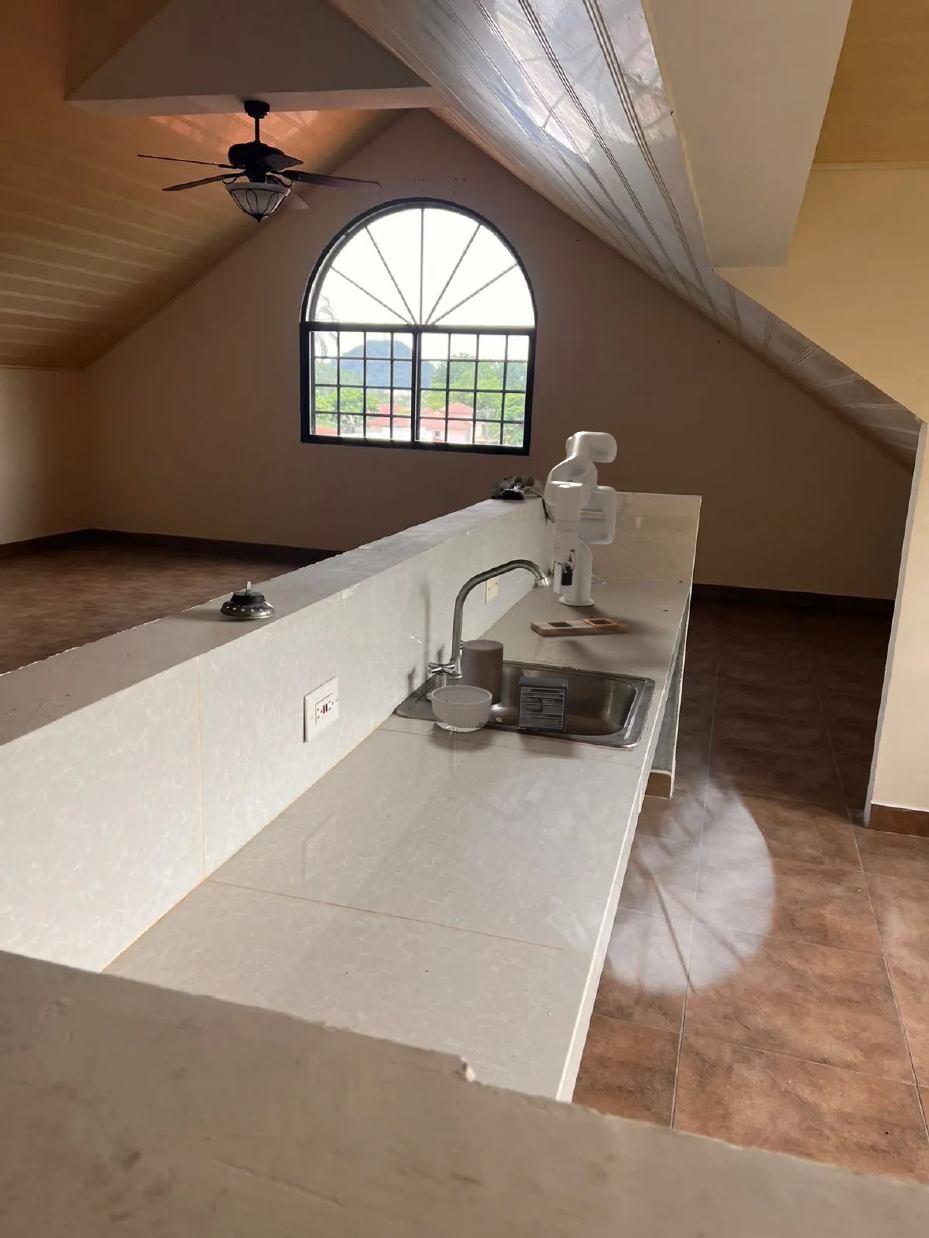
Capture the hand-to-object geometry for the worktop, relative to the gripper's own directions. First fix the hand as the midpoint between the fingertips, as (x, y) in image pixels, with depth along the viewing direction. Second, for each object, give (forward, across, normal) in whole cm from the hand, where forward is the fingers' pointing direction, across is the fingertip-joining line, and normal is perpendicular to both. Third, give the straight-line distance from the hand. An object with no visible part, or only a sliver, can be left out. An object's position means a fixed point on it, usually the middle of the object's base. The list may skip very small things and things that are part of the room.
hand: (563, 583), depth 282 cm
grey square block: (+3, 0, 0) cm, 3 cm away
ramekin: (+14, +77, -58) cm, 97 cm away
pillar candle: (+14, +62, -48) cm, 80 cm away
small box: (+14, +82, -41) cm, 93 cm away
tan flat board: (+15, +1, +7) cm, 17 cm away
